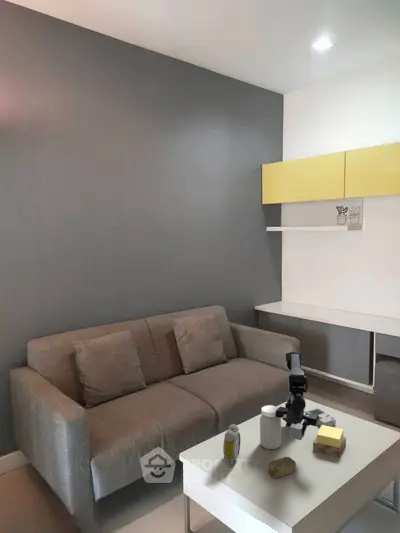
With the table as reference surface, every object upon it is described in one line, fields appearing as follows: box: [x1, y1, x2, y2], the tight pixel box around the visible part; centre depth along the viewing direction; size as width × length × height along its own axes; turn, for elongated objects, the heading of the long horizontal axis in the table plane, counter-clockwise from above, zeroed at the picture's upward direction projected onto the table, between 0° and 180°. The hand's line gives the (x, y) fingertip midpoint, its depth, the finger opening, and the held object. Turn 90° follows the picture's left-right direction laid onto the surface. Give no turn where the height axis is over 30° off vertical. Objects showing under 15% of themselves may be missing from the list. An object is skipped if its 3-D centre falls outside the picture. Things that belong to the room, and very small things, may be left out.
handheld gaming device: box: [304, 407, 337, 427], centre depth 215 cm, size 9×15×4 cm, turn 26°
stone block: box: [267, 456, 297, 479], centre depth 171 cm, size 6×12×5 cm, turn 116°
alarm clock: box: [222, 423, 241, 467], centre depth 181 cm, size 12×7×15 cm, turn 161°
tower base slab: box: [312, 436, 347, 458], centre depth 190 cm, size 12×12×4 cm
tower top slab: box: [316, 425, 344, 448], centre depth 189 cm, size 10×10×4 cm
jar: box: [259, 404, 282, 450], centre depth 192 cm, size 10×10×18 cm
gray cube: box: [289, 423, 304, 441], centre depth 182 cm, size 5×5×5 cm
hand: (297, 434), depth 182 cm, fingers closed on gray cube, 5 cm apart
